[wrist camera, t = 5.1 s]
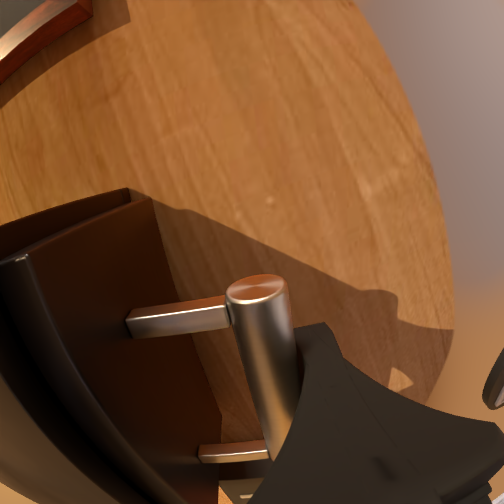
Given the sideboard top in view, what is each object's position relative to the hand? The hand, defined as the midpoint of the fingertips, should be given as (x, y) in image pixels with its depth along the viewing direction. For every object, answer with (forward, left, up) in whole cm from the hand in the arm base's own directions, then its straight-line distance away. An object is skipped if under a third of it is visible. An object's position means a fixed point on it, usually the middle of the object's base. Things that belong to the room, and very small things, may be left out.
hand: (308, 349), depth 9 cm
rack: (+10, 0, -2) cm, 10 cm away
